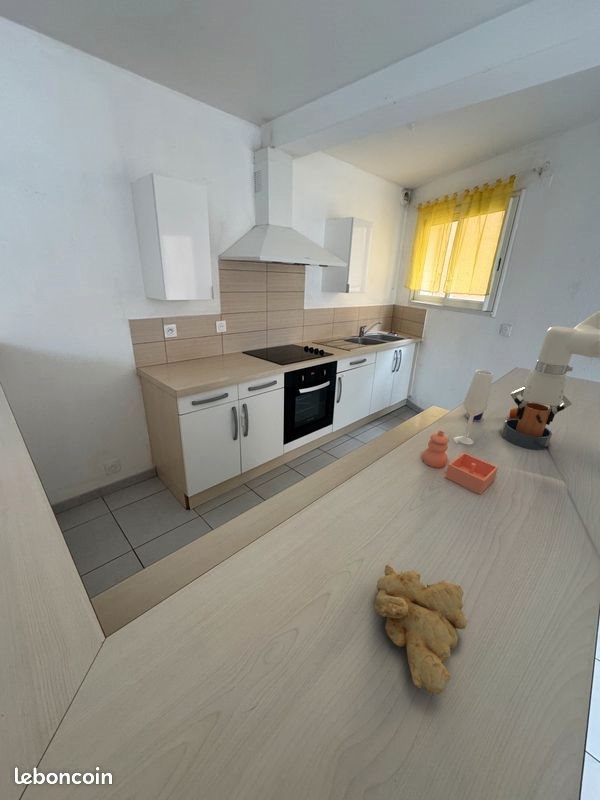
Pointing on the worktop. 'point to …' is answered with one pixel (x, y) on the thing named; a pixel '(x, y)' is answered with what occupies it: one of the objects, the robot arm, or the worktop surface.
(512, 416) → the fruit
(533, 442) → the shallow round gray bowl
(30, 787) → the worktop surface
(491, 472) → the pottery
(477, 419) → the energy drink
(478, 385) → the champagne flute
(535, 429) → the cup
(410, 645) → the ginger root
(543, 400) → the robot arm
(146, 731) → the worktop surface
